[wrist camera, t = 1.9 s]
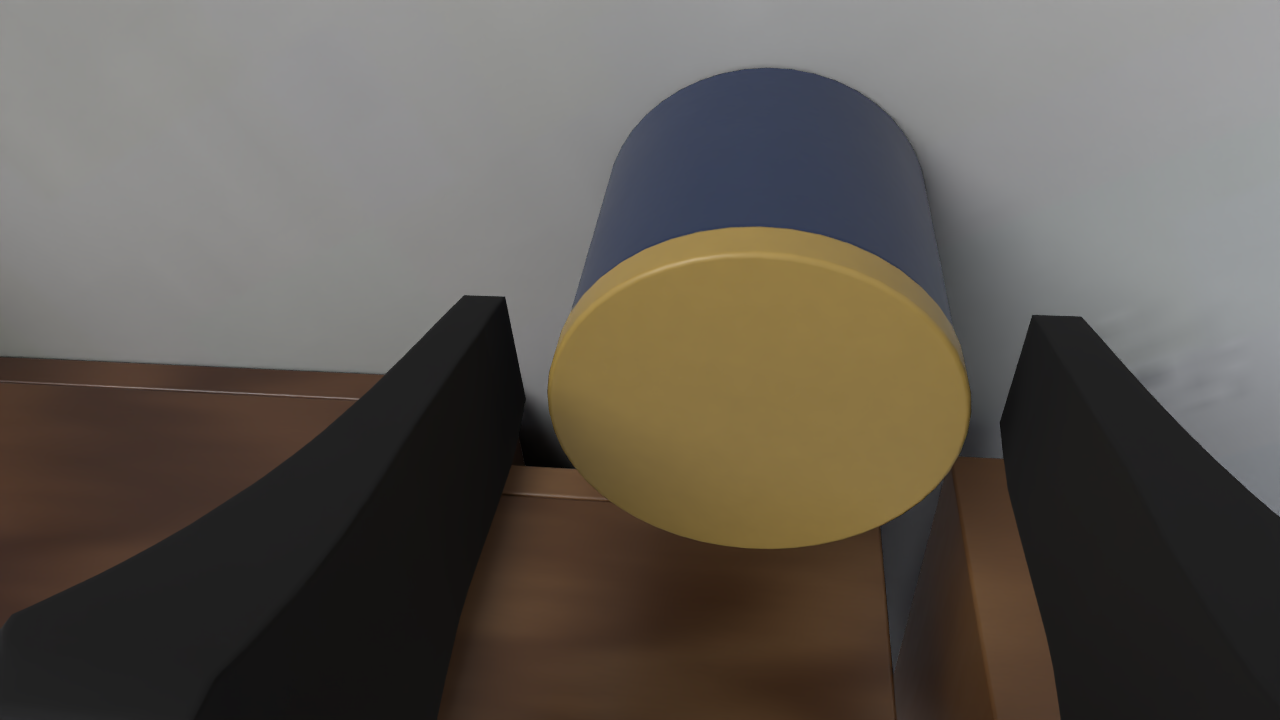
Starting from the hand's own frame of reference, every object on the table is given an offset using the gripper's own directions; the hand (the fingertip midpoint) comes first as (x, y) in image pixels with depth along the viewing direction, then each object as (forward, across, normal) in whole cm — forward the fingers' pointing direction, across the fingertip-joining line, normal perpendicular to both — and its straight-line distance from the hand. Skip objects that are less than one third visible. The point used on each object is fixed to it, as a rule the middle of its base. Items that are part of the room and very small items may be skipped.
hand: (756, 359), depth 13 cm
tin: (+4, 0, 0) cm, 4 cm away
